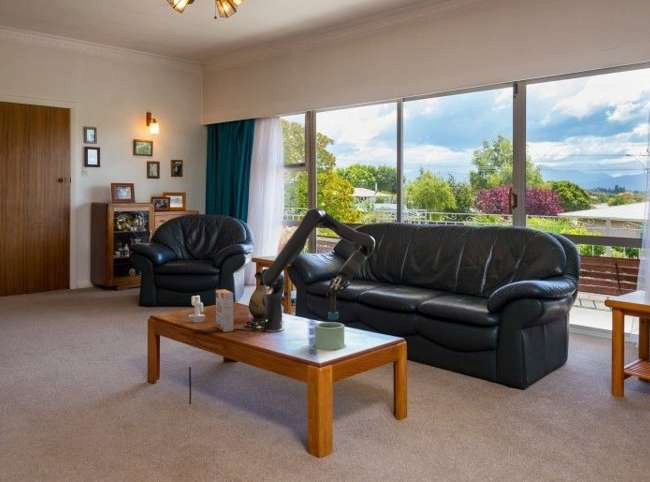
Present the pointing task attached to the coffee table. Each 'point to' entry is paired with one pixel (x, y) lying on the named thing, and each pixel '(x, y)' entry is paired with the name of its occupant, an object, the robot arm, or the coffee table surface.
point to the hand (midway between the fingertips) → (329, 296)
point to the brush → (332, 307)
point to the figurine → (197, 310)
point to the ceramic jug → (258, 299)
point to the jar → (329, 335)
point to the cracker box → (224, 310)
